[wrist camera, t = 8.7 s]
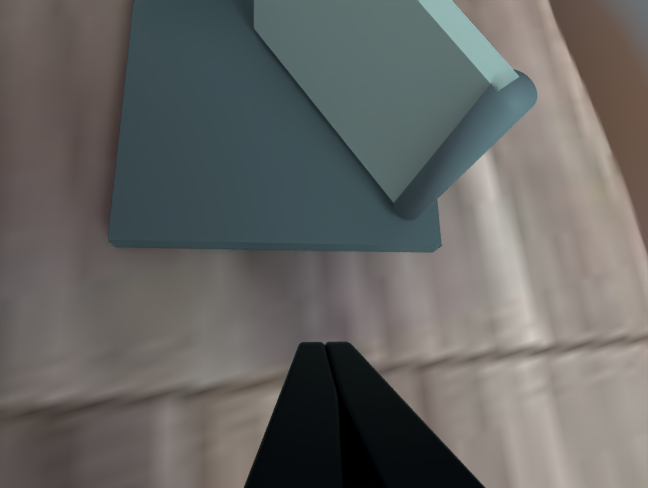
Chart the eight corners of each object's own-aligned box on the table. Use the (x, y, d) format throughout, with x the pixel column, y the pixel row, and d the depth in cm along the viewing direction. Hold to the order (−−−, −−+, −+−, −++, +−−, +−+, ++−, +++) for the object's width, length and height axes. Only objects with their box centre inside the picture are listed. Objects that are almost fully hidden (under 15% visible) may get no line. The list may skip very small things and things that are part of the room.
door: (406, 226, 19) (513, 120, 11) (249, 29, 20) (250, -183, 12) (427, 210, 19) (546, 97, 11) (272, 18, 20) (285, -195, 13)
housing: (432, 252, 20) (475, 222, 16) (115, 247, 18) (79, 211, 14) (409, 6, 24) (440, -66, 20) (142, -21, 22) (120, -106, 18)
